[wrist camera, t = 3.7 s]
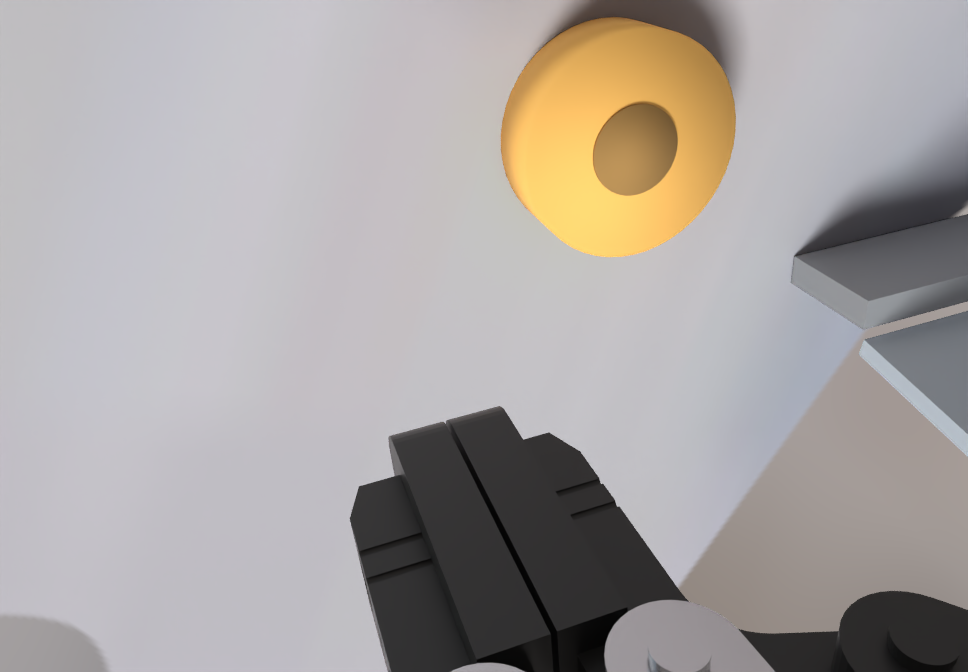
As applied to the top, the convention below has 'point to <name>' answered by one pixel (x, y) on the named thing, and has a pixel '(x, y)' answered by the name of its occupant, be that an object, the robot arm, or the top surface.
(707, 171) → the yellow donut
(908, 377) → the cover
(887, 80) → the top surface
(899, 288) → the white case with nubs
